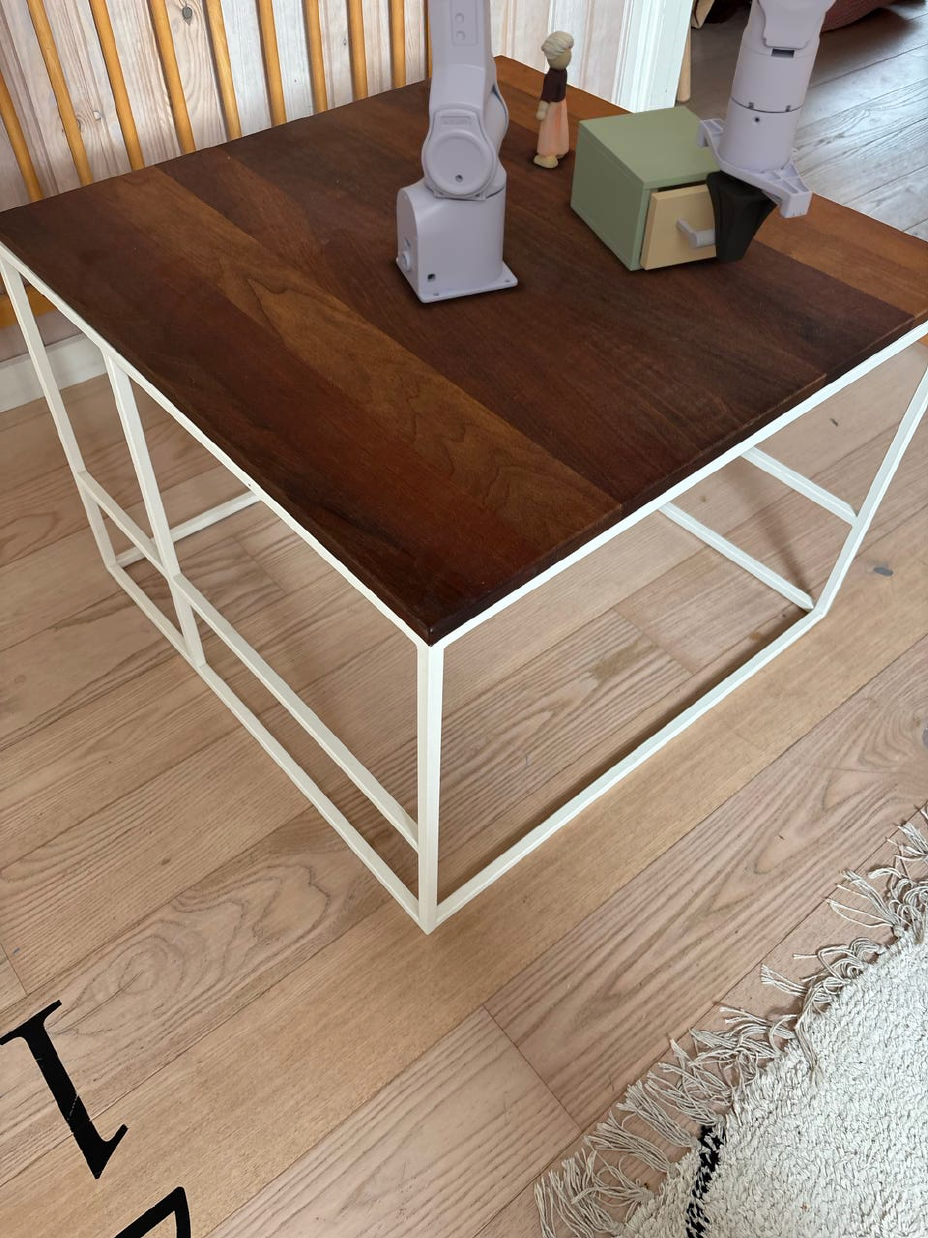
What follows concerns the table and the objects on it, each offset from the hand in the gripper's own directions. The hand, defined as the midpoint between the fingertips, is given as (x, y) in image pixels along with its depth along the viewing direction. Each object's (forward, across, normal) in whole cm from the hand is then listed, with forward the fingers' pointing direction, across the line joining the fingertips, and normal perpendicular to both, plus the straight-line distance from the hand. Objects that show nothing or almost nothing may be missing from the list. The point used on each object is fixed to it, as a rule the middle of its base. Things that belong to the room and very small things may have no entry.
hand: (729, 257), depth 89 cm
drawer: (+3, +9, 0) cm, 10 cm away
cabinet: (+4, +14, 0) cm, 14 cm away
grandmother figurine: (+4, +32, +3) cm, 32 cm away
